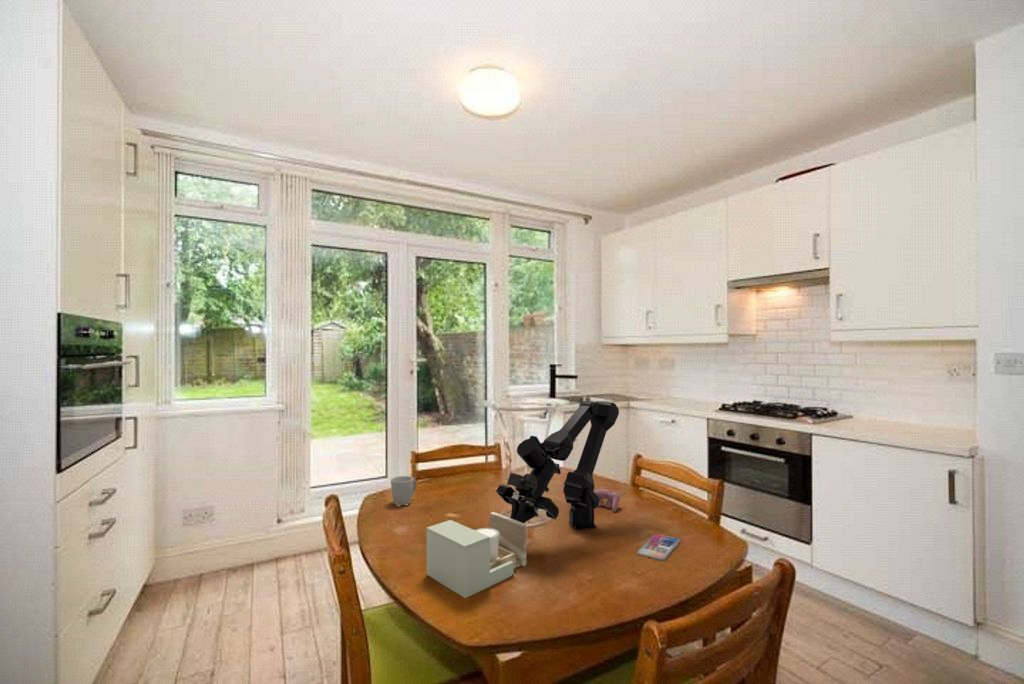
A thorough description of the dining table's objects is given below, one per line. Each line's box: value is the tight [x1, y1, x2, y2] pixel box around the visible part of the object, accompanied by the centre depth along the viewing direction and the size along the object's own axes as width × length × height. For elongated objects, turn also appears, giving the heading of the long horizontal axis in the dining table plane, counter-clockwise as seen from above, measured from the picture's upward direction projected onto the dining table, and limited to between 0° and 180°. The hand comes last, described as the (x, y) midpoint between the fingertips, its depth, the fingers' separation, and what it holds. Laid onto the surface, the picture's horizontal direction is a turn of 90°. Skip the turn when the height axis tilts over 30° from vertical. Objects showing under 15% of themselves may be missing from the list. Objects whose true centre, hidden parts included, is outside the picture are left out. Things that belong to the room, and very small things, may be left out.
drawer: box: [489, 511, 528, 570], centre depth 113 cm, size 14×12×10 cm
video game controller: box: [594, 488, 621, 513], centre depth 154 cm, size 10×5×7 cm, turn 59°
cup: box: [390, 475, 417, 506], centre depth 161 cm, size 8×10×8 cm
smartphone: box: [636, 533, 681, 562], centre depth 123 cm, size 7×1×15 cm
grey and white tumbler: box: [474, 527, 499, 563], centre depth 112 cm, size 7×7×7 cm
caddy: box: [426, 519, 515, 599], centre depth 109 cm, size 14×15×11 cm
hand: (510, 530), depth 118 cm, fingers closed, pressing on drawer
